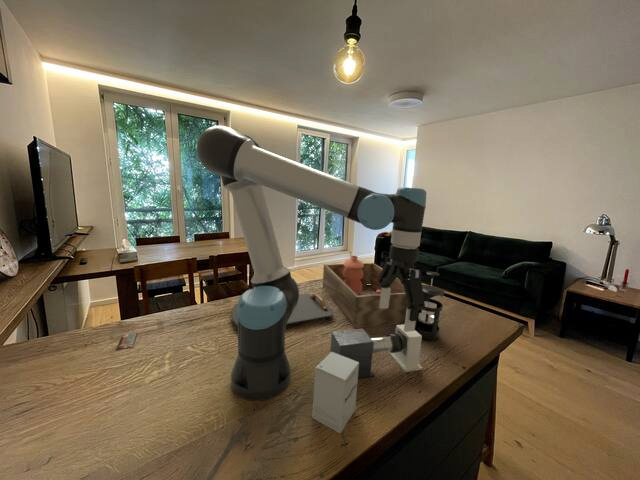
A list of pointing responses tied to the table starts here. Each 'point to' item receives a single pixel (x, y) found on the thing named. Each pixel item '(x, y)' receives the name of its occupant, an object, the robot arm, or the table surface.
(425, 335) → the french press
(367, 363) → the dark grey block
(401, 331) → the socket
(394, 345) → the rod
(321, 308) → the serving board
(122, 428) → the table surface
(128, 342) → the chocolate bar
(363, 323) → the box
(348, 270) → the ceramic vessels
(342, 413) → the supplement box
